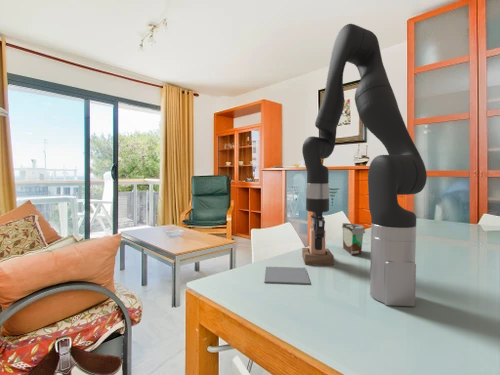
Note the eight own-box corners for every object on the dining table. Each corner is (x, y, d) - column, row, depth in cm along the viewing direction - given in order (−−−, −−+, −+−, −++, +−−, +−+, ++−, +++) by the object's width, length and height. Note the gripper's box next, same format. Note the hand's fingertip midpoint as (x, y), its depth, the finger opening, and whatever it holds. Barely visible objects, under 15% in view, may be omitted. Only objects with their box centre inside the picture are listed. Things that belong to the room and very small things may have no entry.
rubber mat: (310, 284, 71) (310, 282, 71) (264, 282, 72) (264, 281, 72) (305, 269, 83) (305, 267, 83) (265, 267, 84) (265, 266, 84)
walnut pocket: (333, 265, 86) (333, 255, 86) (305, 264, 87) (305, 255, 87) (328, 257, 95) (328, 248, 95) (302, 256, 96) (302, 247, 96)
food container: (370, 256, 96) (370, 228, 95) (352, 256, 96) (353, 228, 95) (357, 247, 108) (357, 223, 108) (341, 247, 108) (342, 222, 108)
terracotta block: (325, 260, 89) (325, 230, 88) (311, 260, 89) (311, 230, 89) (322, 257, 93) (322, 228, 93) (309, 256, 94) (309, 228, 93)
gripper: (333, 198, 83) (333, 253, 84) (324, 195, 97) (324, 242, 98) (308, 198, 84) (308, 253, 84) (303, 195, 98) (303, 242, 98)
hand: (317, 247), depth 91 cm, fingers closed on terracotta block, 4 cm apart
